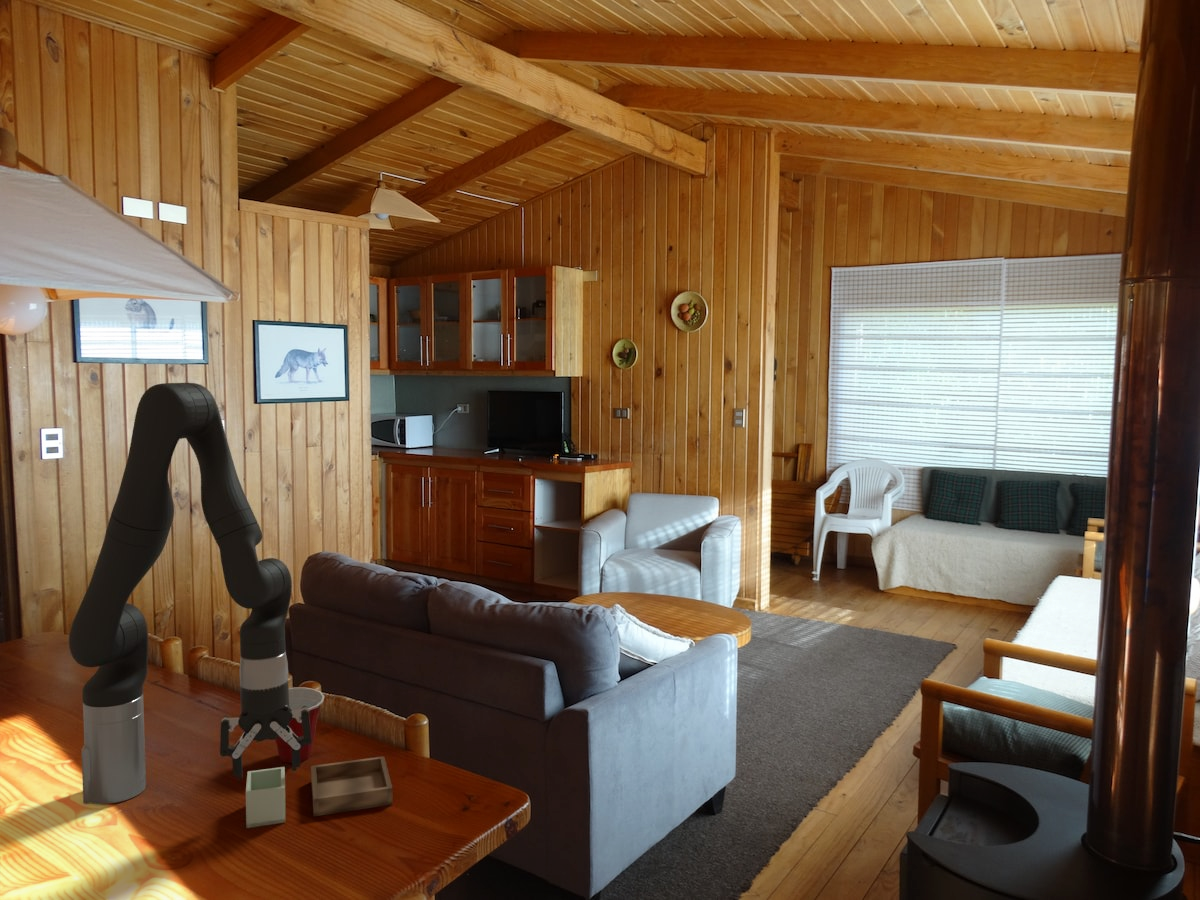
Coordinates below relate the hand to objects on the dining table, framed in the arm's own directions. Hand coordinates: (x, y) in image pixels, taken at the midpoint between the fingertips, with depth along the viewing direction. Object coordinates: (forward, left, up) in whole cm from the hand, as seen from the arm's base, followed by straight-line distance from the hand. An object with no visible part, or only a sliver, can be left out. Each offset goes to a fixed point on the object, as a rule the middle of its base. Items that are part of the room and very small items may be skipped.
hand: (267, 773), depth 146 cm
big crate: (+14, +3, -7) cm, 16 cm away
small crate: (0, 0, -7) cm, 7 cm away
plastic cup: (+5, +21, -7) cm, 23 cm away
